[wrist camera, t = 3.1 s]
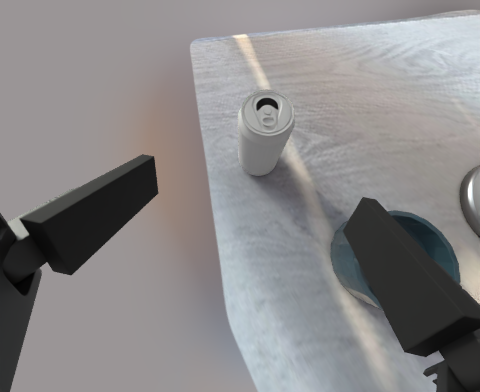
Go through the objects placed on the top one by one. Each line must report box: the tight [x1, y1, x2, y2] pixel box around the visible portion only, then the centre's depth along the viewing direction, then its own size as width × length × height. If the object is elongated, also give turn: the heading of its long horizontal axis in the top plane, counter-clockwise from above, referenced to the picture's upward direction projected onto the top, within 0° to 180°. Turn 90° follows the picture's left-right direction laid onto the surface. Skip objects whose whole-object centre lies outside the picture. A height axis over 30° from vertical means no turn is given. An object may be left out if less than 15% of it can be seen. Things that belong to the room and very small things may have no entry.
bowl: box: [331, 211, 460, 311], centre depth 24 cm, size 12×12×6 cm
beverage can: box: [238, 90, 294, 176], centre depth 25 cm, size 6×6×12 cm
